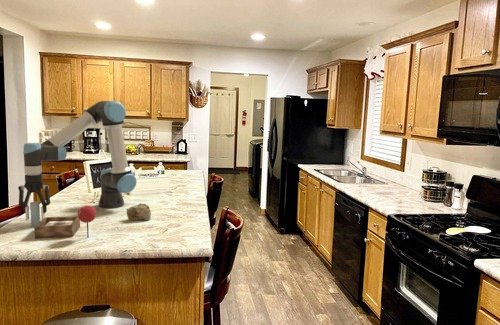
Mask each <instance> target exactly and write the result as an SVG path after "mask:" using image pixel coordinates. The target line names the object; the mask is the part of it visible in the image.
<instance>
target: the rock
mask: <svg viewBox="0 0 500 325" xmlns="http://www.w3.org/2000/svg"><path fill="white" fill-rule="evenodd" d="M151 215H152V211H151V208H150V207H149V205H148V204H146V203H141V202H140V203H139V204H137V205H132V206H130V207H129V208H126V217H127V218H128V220H131V221H140V220H144V221H150V220H152V219H151Z"/></svg>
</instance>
